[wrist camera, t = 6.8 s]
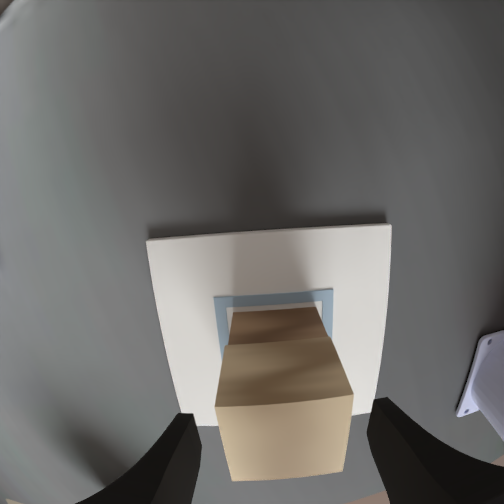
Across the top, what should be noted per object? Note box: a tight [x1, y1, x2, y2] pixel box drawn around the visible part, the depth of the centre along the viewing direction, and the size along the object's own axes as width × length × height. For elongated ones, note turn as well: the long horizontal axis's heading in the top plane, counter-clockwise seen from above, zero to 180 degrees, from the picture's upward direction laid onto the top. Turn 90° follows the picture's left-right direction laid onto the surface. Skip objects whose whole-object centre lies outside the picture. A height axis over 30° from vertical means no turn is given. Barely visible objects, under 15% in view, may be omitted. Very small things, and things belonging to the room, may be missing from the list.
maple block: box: [214, 336, 354, 481], centre depth 12 cm, size 4×4×4 cm
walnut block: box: [228, 307, 328, 345], centre depth 16 cm, size 4×4×4 cm
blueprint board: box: [146, 223, 391, 426], centre depth 18 cm, size 13×13×1 cm
